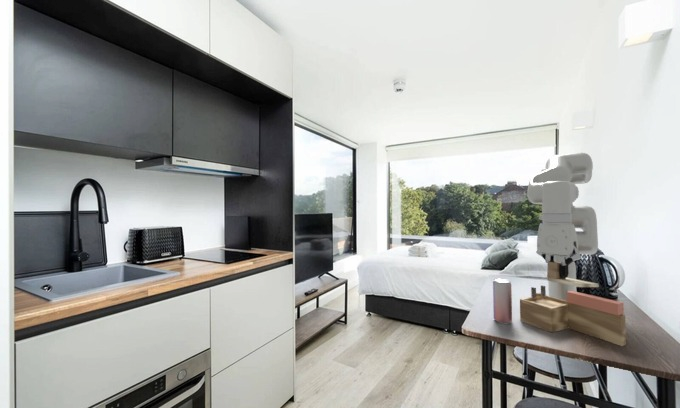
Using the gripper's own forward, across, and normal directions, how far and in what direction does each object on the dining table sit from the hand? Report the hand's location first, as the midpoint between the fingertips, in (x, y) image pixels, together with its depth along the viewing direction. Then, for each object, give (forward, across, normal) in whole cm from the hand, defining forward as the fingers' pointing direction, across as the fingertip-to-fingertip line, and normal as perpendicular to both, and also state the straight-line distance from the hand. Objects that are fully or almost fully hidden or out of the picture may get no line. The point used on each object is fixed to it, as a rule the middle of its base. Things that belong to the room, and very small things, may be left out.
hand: (557, 275), depth 93 cm
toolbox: (+20, -2, +9) cm, 22 cm away
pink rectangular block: (+11, +3, +12) cm, 17 cm away
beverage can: (+20, -17, -4) cm, 27 cm away
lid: (+2, +3, +2) cm, 4 cm away
